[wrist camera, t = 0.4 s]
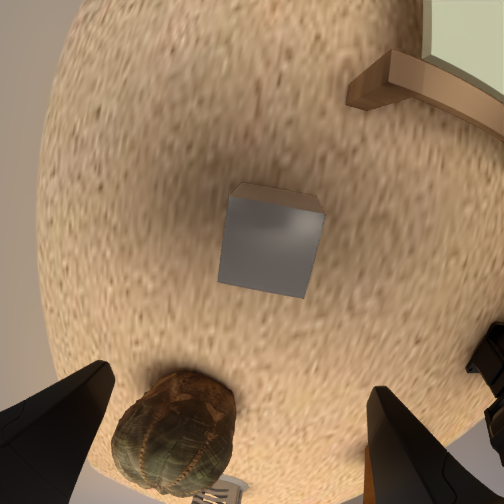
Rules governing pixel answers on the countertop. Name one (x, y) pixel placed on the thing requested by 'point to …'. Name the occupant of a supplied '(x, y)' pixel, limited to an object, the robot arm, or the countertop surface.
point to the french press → (223, 491)
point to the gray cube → (270, 239)
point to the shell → (177, 435)
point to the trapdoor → (467, 41)
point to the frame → (424, 91)
